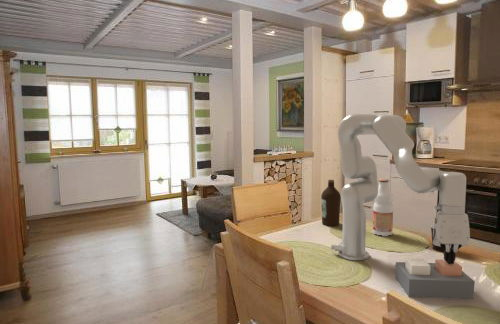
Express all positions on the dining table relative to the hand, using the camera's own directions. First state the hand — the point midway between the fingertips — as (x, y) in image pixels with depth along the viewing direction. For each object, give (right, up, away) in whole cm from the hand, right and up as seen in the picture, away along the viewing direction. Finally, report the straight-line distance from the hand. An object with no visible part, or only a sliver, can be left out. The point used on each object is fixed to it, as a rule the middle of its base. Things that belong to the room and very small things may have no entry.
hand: (449, 262), depth 118 cm
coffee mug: (+18, -5, +35) cm, 40 cm away
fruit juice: (0, -3, +59) cm, 59 cm away
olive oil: (-22, -1, +77) cm, 81 cm away
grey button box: (-5, -9, +2) cm, 11 cm away
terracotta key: (0, -5, +1) cm, 5 cm away
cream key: (-10, -5, +2) cm, 11 cm away
